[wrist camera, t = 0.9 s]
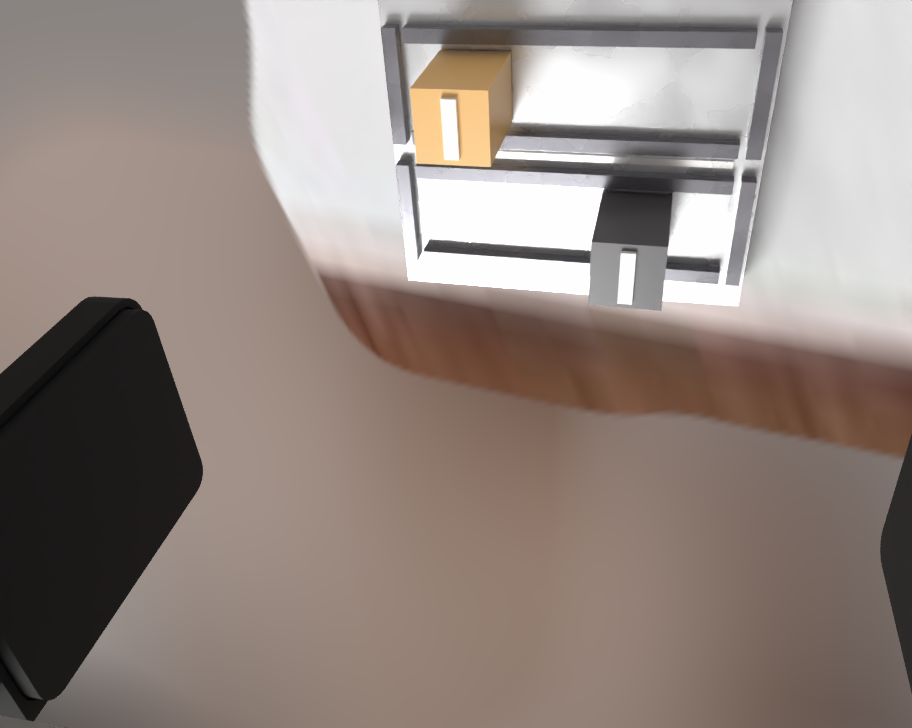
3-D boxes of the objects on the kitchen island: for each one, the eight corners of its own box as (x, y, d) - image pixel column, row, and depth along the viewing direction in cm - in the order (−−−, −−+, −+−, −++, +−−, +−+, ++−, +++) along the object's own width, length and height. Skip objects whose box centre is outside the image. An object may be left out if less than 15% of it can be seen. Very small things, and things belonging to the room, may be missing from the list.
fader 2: (602, 191, 37) (590, 244, 33) (672, 195, 36) (668, 249, 33) (599, 251, 39) (587, 307, 35) (666, 255, 38) (661, 313, 34)
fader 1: (439, 49, 35) (408, 90, 31) (510, 51, 34) (486, 92, 30) (444, 120, 37) (415, 165, 33) (512, 122, 36) (489, 169, 32)
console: (390, -28, 35) (371, -11, 33) (791, -29, 32) (796, -11, 30) (419, 259, 44) (404, 286, 42) (737, 283, 40) (738, 313, 38)
